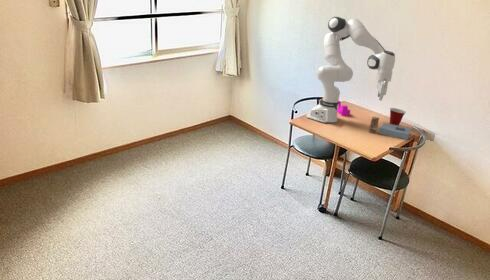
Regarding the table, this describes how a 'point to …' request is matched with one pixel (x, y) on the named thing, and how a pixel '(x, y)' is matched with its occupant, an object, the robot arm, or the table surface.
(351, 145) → the table surface
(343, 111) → the toy block
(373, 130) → the walnut peg
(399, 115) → the plastic cup
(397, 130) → the socket board
